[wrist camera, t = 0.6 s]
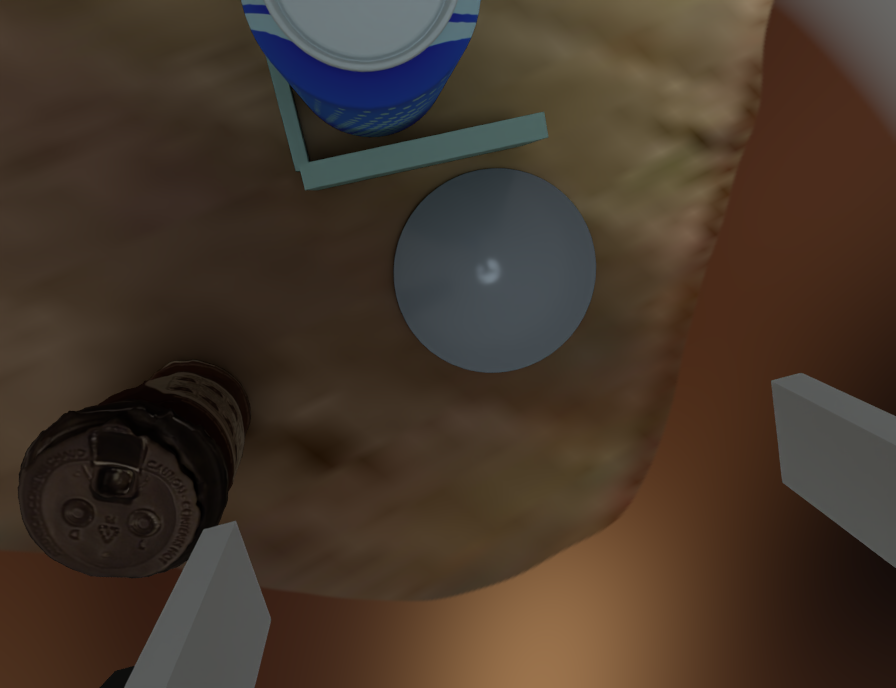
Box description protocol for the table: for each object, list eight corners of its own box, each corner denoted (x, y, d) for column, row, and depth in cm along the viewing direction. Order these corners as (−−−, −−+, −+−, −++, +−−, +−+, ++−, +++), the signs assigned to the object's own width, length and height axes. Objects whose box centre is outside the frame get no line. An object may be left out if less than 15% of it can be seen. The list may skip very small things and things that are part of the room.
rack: (241, -46, 34) (212, -95, 29) (480, -94, 35) (500, -151, 29) (303, 193, 37) (288, 193, 32) (522, 145, 38) (548, 137, 32)
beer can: (446, -23, 36) (496, -189, 20) (444, 140, 37) (489, 103, 22) (287, -30, 35) (211, -208, 19) (293, 137, 37) (229, 97, 21)
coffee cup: (204, 308, 38) (117, 365, 26) (301, 413, 40) (264, 514, 28) (92, 401, 39) (-48, 502, 26) (192, 500, 41) (107, 638, 28)
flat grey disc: (372, 193, 38) (372, 193, 37) (575, 148, 38) (578, 148, 38) (418, 389, 41) (418, 392, 40) (606, 345, 41) (609, 347, 41)
